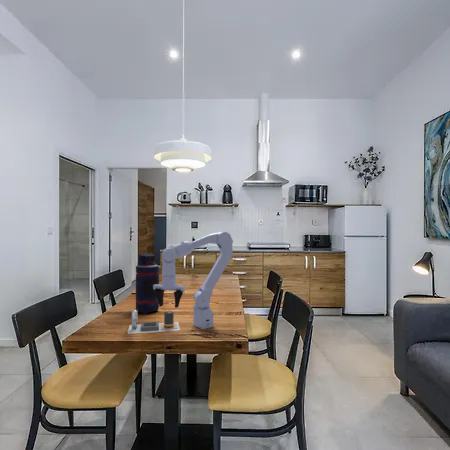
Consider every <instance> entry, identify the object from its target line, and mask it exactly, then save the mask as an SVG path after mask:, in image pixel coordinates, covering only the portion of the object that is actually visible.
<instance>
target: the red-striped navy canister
mask: <svg viewBox="0 0 450 450" xmlns="http://www.w3.org/2000/svg"><path fill="white" fill-rule="evenodd" d="M155 257H156V255H155V254H153V253H152V254H151V253H144V254H142V253H141V254H139V255H138V262H137V265H136V266H135V273H136V274H135V310H138V313H142V314H143V315H148V314H149V313H152V312H156V313H157V312H158V311H159V309H160V306H159V302H158V299H157V297H156V295H155V293H154V291H155V290H156V289H155V290H154V289H153V285H155V284H160V273H159V272H160V265H158V264H157V263H156V262H155Z"/></svg>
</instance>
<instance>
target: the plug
mask: <svg viewBox="0 0 450 450" xmlns="http://www.w3.org/2000/svg"><path fill="white" fill-rule="evenodd" d="M163 313H164V314H163V315H164V319H163V321H164V322H163V323H164V327H166V328H170V327H173V326H174V322H175V321H174V317H175V316H174V315H175V314H174V313H175V312H174V311H172V310H171V311H170V310H169V311H168V310H167V311H164V312H163Z"/></svg>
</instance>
